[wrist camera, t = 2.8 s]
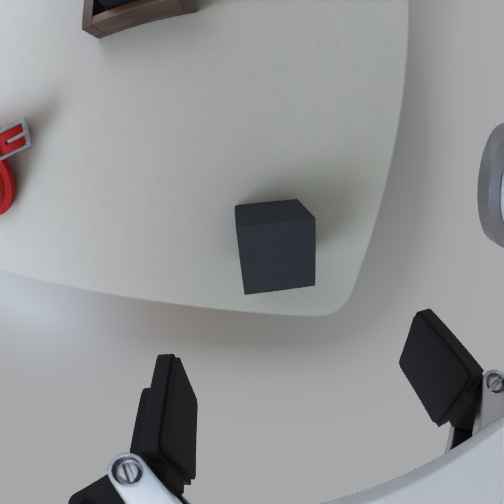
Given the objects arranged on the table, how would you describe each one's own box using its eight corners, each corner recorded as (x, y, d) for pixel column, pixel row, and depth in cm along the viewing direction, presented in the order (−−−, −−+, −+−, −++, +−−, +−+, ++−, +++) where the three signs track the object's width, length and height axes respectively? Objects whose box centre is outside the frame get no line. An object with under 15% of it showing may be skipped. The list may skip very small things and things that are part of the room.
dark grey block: (297, 198, 21) (315, 217, 17) (299, 255, 23) (315, 285, 19) (234, 205, 21) (235, 226, 17) (241, 262, 23) (244, 295, 19)
